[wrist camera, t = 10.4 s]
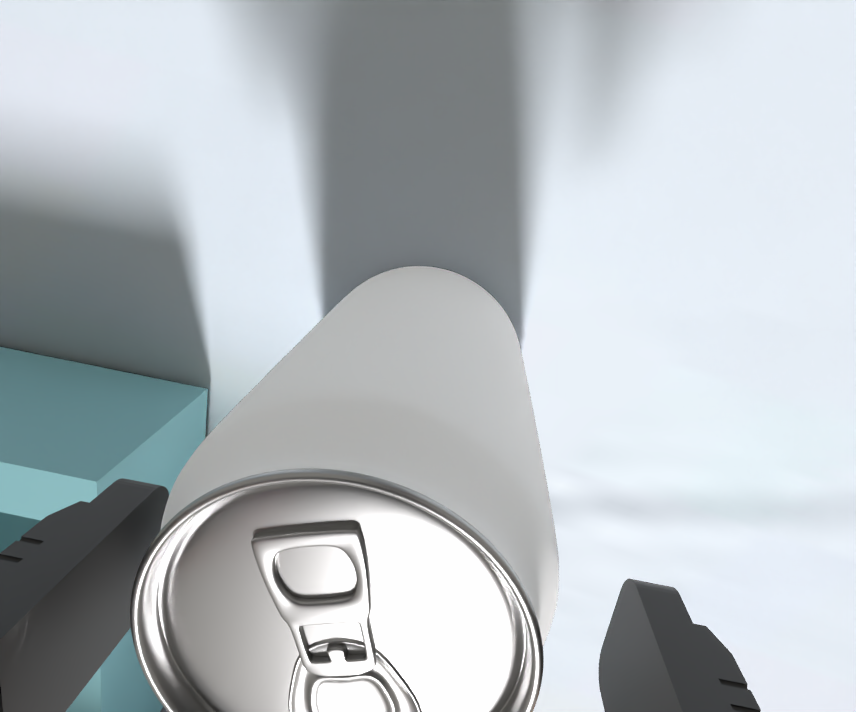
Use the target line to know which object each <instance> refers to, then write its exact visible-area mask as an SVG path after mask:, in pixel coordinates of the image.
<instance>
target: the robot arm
mask: <svg viewBox="0 0 856 712" xmlns="http://www.w3.org/2000/svg"><path fill="white" fill-rule="evenodd" d="M168 498H169V492H168V489H167V488H166V487H165V486H160V485H155V484H150V483H145V482H140V481H135V480H130V479H125V478H121V479H118V480H116V481H115V482H113V483H112V484H111V485H110V486H109V487H108V488H106V489H105V490H104V491H103V492H102V493H100V494H99V495H98V496H97V497H96V498H94V499H93V500H92V501H91V502H90V503H89V502H84V501H79V502H77V503H75V504H73V505H70V506H68V507H66V508H64V509H61V510H59V511H57V512H55V513H52V514H50V515H48V516H46V517H45V518H44V519H42V520H41V521H40V522H39V523H37V524H36V525H35V526H34V527H32V528H31V529H30V530H29V531H27V532H26V533H25V534H23V535H22V536H21V539H20V541H15V542H13V543H12V544H11V545H10V546H8V547H7V548H6V549H4V550H3V551H2V552H1V553H0V712H66V710H67V709H68V708H69V707H70V705H71V704H72V703H73V701H74V700H75V699H76V698H77V696H78V695H79V694H80V692H81V691H82V690H83V688H84V687H85V686H86V685H87V683H88V682H89V681H90V679H91V678H92V677H93V676H94V674H95V673H96V672H97V670H98V669H99V668H100V666H101V665H102V664H103V663H104V661H105V660H106V659H107V657H108V656H109V655H110V654H111V652H112V651H113V650H114V648H115V647H116V646H117V645H118V643H119V642H120V641H121V639H122V638H123V637H124V635H125V634H126V633H127V632H128V630H129V629H130V628H131V624H130V604H131V595H132V588H133V584H134V580H135V577H136V573H137V571H138V568H139V565H140V563H141V561H142V558H143V556H144V554H145V553H146V551H147V549H148V547H149V546H150V544H151V543H152V541H153V540H154V538H155V537H156V535H157V534H158V533H159V532H160V530H161V524H162V519H163V514H164V511H165V507H166V504H167V501H168ZM599 685H600V692H601V696H602V701H603V705H604V709H605V712H760V711H761V710H760V708H759V706H758V704H757V702H756V700H755V698H754V696H753V694H752V692H751V690H748V689H747V683H746V681H745V679H744V677H743V675H742V673H741V671H740V669H739V667H738V665H737V663H736V661H735V659H734V657H733V655H732V654H731V653H730V652H729V650H728V649H727V648H726V647H725V646H724V645H723V644H722V643H721V642H720V641H719V640H718V639H717V638H716V636H715V635H714V634H713V633H712V632H711V631H710V630H709V629H708V628H707V627H706V626H702V625H697V624H693V623H692V620H691V618H690V616H689V614H688V612H687V610H686V607H685V605H684V603H683V601H682V599H681V597H680V595H679V593H678V591H677V590H676V589H675V588H673V587H669V586H664V585H658V584H653V583H648V582H643V581H638V580H633V579H627V580H626V581H625V582H624V584H623V586H622V588H621V591H620V594H619V597H618V600H617V603H616V606H615V609H614V612H613V615H612V618H611V621H610V624H609V627H608V630H607V633H606V637H605V640H604V643H603V646H602V649H601V654H600V660H599Z"/></svg>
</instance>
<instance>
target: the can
mask: <svg viewBox="0 0 856 712" xmlns="http://www.w3.org/2000/svg"><path fill="white" fill-rule="evenodd" d="M558 592H559V558H558V549H557V541H556V534H555V527H554V521H553V515H552V509H551V504H550V498H549V492H548V487H547V481H546V476H545V470H544V465H543V460H542V454H541V449H540V444H539V438H538V433H537V428H536V423H535V417H534V412H533V407H532V402H531V397H530V392H529V387H528V382H527V377H526V372H525V367H524V362H523V357H522V353H521V348H520V344H519V341H518V337H517V334H516V332H515V329H514V327H513V325H512V323H511V321H510V319H509V317H508V315H507V314H506V312H505V311H504V309H503V308H502V307H501V305H500V304H499V303H498V302H497V301H496V299H495V298H494V297H493V296H492V295H491V294H489V293H488V292H487V291H486V290H485V289H484V288H482V287H481V286H480V285H478V284H477V283H475V282H473V281H472V280H470V279H468V278H466V277H464V276H462V275H460V274H457V273H455V272H452V271H449V270H445V269H441V268H436V267H428V266H409V267H402V268H396V269H392V270H389V271H386V272H383V273H380V274H378V275H376V276H374V277H372V278H370V279H368V280H366V281H365V282H363V283H362V284H360V285H359V286H357V287H356V288H355V289H354V290H352V291H351V292H350V293H349V294H348V295H347V296H346V297H345V298H344V299H342V300H341V301H340V302H339V303H338V304H337V305H336V306H335V307H334V308H333V309H332V310H331V311H330V312H329V313H328V314H327V315H326V316H325V317H324V318H323V319H322V320H321V321H320V322H319V323H318V324H317V325H316V326H315V327H314V328H313V329H312V330H311V331H310V332H309V333H308V334H307V335H306V336H305V337H304V338H303V339H302V340H301V341H300V342H299V343H298V344H297V345H296V346H295V347H294V348H293V349H292V350H291V351H290V352H289V353H288V354H287V355H286V356H285V357H284V358H283V359H282V360H281V361H280V362H279V363H278V364H277V365H276V366H275V367H274V368H273V369H272V370H271V371H270V372H269V373H268V374H267V375H266V376H265V377H264V378H263V379H262V380H261V381H260V382H259V383H258V384H257V385H256V386H255V387H254V388H253V389H252V390H251V391H250V392H249V393H248V394H247V395H246V396H245V397H244V398H243V399H242V400H241V401H240V402H239V403H238V404H237V405H236V406H235V407H234V408H233V409H232V410H231V412H230V413H229V414H228V415H227V416H226V417H225V418H224V419H223V420H222V421H221V422H220V423H219V424H218V425H217V426H216V427H215V428H214V429H213V431H212V432H211V433H210V434H209V435H208V436H207V437H206V438H205V439H204V441H203V442H202V443H201V444H200V445H199V446H198V448H197V449H196V450H195V452H194V453H193V454H192V456H191V457H190V459H189V460H188V461H187V463H186V464H185V466H184V467H183V469H182V470H181V472H180V474H179V475H178V477H177V479H176V481H175V483H174V485H173V487H172V490H171V492H170V495H169V498H168V501H167V504H166V507H165V511H164V514H163V519H162V524H161V530H160V532H159V533H158V534H157V535H156V537H155V538H154V540H153V541H152V543H151V544H150V546H149V547H148V549H147V551H146V553H145V554H144V556H143V558H142V561H141V563H140V565H139V568H138V571H137V573H136V577H135V580H134V584H133V588H132V595H131V604H130V624H131V632H132V639H133V643H134V647H135V651H136V655H137V658H138V661H139V663H140V666H141V669H142V671H143V673H144V675H145V677H146V679H147V681H148V683H149V685H150V687H151V689H152V690H153V692H154V694H155V695H156V697H157V698H158V700H159V701H160V703H161V704H162V705H163V707H164V708H165V709H166V711H167V712H533V709H534V707H535V704H536V701H537V698H538V695H539V691H540V687H541V682H542V675H543V645H544V643H545V641H546V638H547V636H548V633H549V631H550V628H551V625H552V621H553V618H554V615H555V610H556V606H557V600H558Z"/></svg>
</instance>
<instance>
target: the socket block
mask: <svg viewBox="0 0 856 712" xmlns="http://www.w3.org/2000/svg"><path fill="white" fill-rule="evenodd" d="M207 394H208V389H206V388H201V387H196V386H191V385H186V384H181V383H176V382H171V381H167V380H162V379H157V378H152V377H147V376H142V375H137V374H132V373H127V372H122V371H117V370H112V369H107V368H102V367H98V366H93V365H88V364H83V363H78V362H73V361H68V360H63V359H58V358H53V357H48V356H43V355H38V354H33V353H29V352H24V351H19V350H14V349H9V348H4V347H0V553H1V552H2V551H3V550H4V549H6V548H7V547H8V546H10V545H11V544H12V543H13V542H15V541H20V539H21V536H22V535H23V534H25V533H26V532H27V531H29V530H30V529H31V528H32V527H34V526H35V525H36V524H37V523H39V522H40V521H41V520H42V519H44V518H45V517H46V516H48V515H50V514H52V513H55V512H57V511H59V510H61V509H64V508H66V507H68V506H70V505H73V504H75V503H77V502H79V501H84V502H89V503H90V502H91V501H92V500H93V499H94V498H96V497H97V496H98V495H99V494H100V493H102V492H103V491H104V490H105V489H106V488H108V487H109V486H110V485H111V484H112V483H113V482H115V481H116V480H118V479H121V478H125V479H130V480H135V481H140V482H145V483H150V484H155V485H160V486H165V487H166V488H167V489H168V492H169V495H170V492H171V490H172V487H173V485H174V483H175V481H176V479H177V477H178V475H179V474H180V472H181V470H182V469H183V467H184V466H185V464H186V463H187V461H188V460H189V459H190V457H191V456H192V454H193V453H194V452H195V450H196V449H197V448H198V446H199V445H200V444H201V443H202V442H203V441H204V439H205V433H206V414H207ZM162 708H163V705H162V704H161V703H160V701H159V700H158V698H157V697H156V695H155V694H154V692H153V690H152V689H151V687H150V685H149V683H148V681H147V679H146V677H145V675H144V673H143V671H142V669H141V666H140V663H139V661H138V658H137V655H136V651H135V647H134V643H133V639H132V632H131V628H130V629H129V630H128V632H127V633H126V634H125V635H124V637H123V638H122V639H121V641H120V642H119V643H118V645H117V646H116V647H115V648H114V650H113V651H112V652H111V654H110V655H109V656H108V657H107V659H106V660H105V661H104V663H103V664H102V665H101V666H100V668H99V669H98V670H97V672H96V673H95V674H94V676H93V677H92V678H91V679H90V681H89V682H88V683H87V685H86V686H85V687H84V688H83V690H82V691H81V692H80V694H79V695H78V696H77V698H76V699H75V700H74V701H73V703H72V704H71V705H70V707H69V708H68V709H67V710H66V712H160V711H161V710H162Z"/></svg>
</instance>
